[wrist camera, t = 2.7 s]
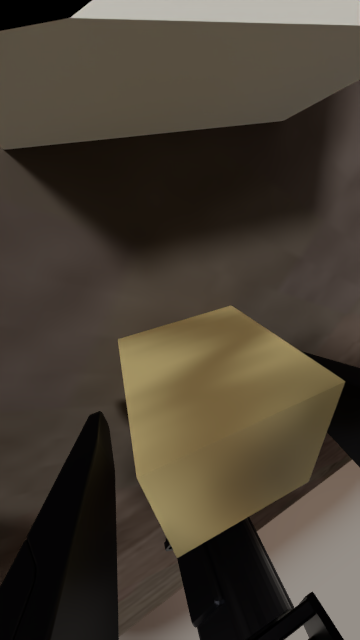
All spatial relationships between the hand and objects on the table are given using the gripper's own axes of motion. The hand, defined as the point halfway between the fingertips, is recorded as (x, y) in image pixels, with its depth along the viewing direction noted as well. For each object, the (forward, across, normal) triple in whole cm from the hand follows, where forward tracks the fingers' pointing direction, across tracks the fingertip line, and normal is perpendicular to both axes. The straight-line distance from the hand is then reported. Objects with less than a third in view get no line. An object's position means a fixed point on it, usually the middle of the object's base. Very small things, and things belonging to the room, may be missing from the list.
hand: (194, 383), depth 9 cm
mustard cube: (+1, 0, 0) cm, 1 cm away
